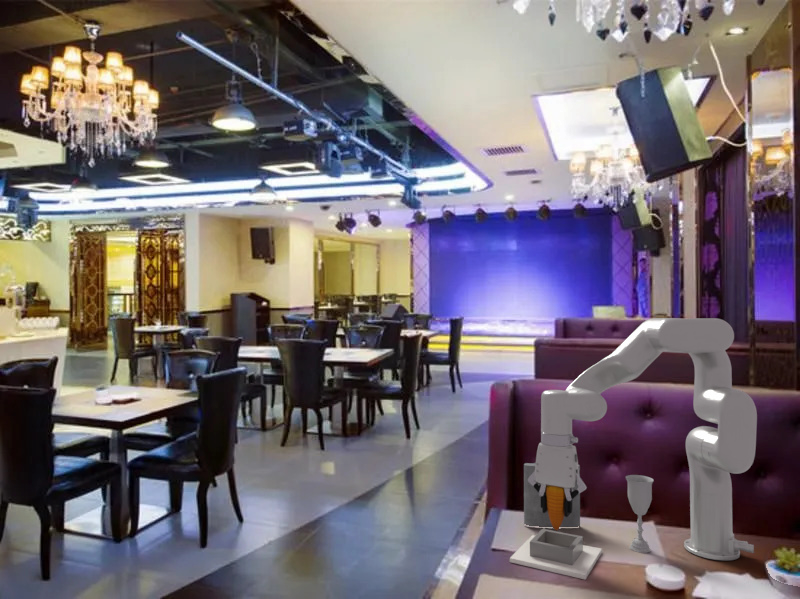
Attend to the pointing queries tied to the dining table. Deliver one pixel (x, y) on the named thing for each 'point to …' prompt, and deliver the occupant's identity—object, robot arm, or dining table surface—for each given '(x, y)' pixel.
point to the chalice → (639, 506)
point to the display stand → (557, 554)
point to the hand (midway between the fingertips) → (556, 512)
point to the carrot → (555, 505)
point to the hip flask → (533, 504)
